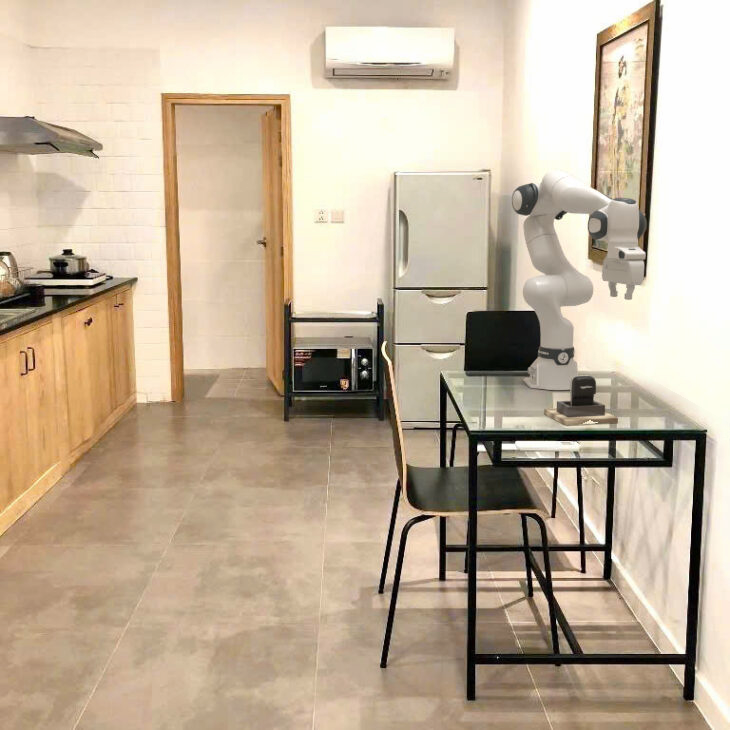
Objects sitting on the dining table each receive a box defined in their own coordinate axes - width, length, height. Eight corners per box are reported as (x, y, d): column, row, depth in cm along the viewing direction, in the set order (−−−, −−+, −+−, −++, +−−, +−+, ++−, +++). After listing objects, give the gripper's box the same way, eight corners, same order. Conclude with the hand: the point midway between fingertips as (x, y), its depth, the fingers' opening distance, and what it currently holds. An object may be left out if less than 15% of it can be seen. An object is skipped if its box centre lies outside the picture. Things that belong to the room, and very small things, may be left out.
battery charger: (574, 416, 262) (575, 377, 261) (568, 413, 266) (570, 375, 264) (596, 415, 264) (598, 376, 262) (591, 412, 267) (592, 374, 266)
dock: (544, 413, 273) (544, 399, 272) (593, 411, 276) (594, 396, 275) (565, 425, 258) (566, 410, 257) (617, 423, 261) (618, 407, 260)
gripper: (597, 251, 282) (596, 295, 284) (628, 254, 262) (626, 301, 265) (616, 250, 283) (614, 295, 286) (648, 253, 263) (646, 300, 266)
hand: (620, 298), depth 275 cm, fingers open, 8 cm apart
